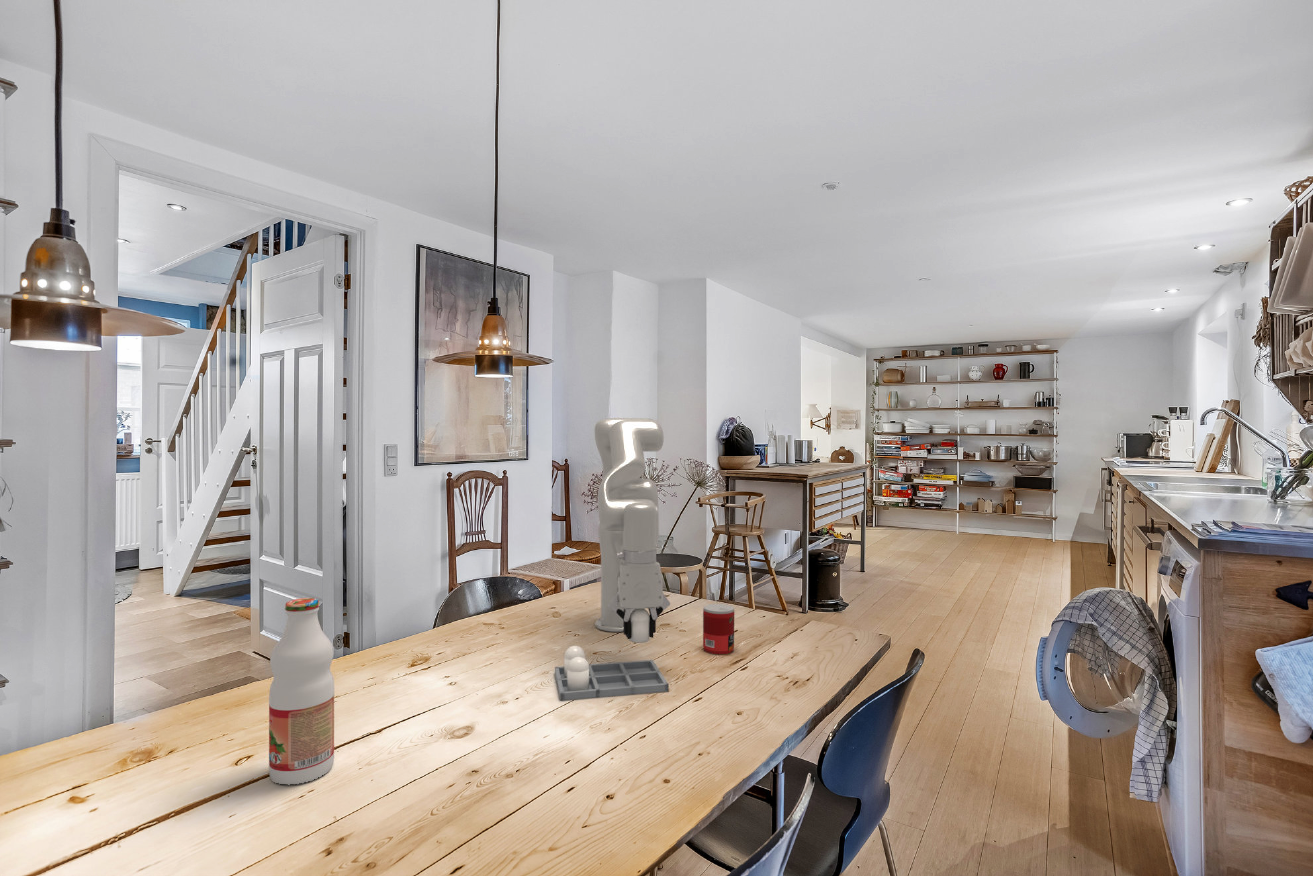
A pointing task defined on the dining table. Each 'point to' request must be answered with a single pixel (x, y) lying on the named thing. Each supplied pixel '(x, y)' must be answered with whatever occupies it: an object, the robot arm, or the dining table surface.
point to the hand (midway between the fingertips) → (639, 636)
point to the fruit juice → (301, 698)
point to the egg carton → (615, 680)
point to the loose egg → (640, 626)
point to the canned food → (718, 628)
